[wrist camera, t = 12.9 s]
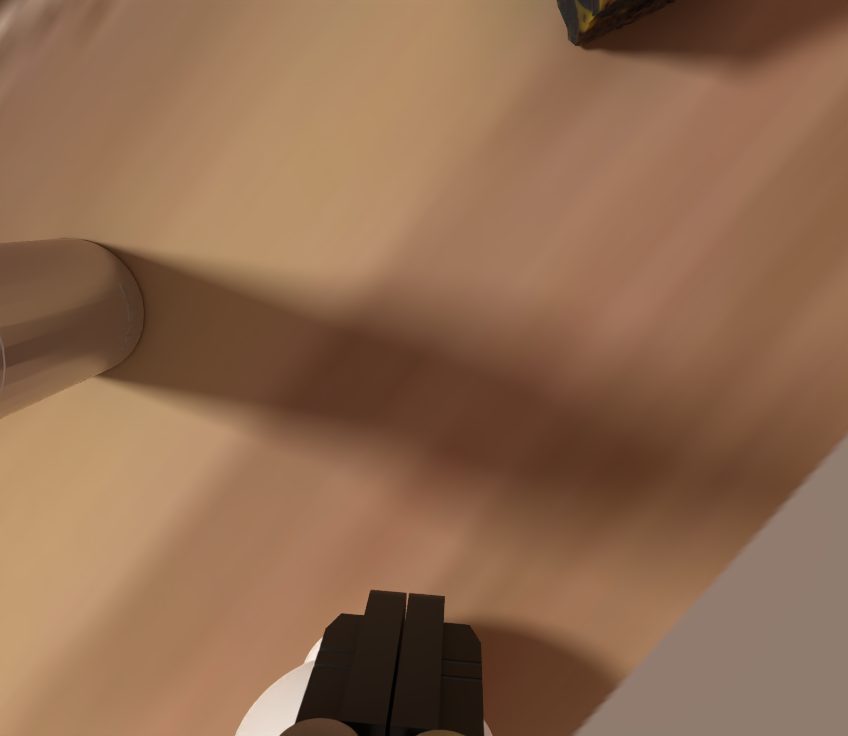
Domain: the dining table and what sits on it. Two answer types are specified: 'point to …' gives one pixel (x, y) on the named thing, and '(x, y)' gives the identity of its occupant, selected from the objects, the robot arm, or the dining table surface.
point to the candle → (602, 16)
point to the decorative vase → (284, 702)
